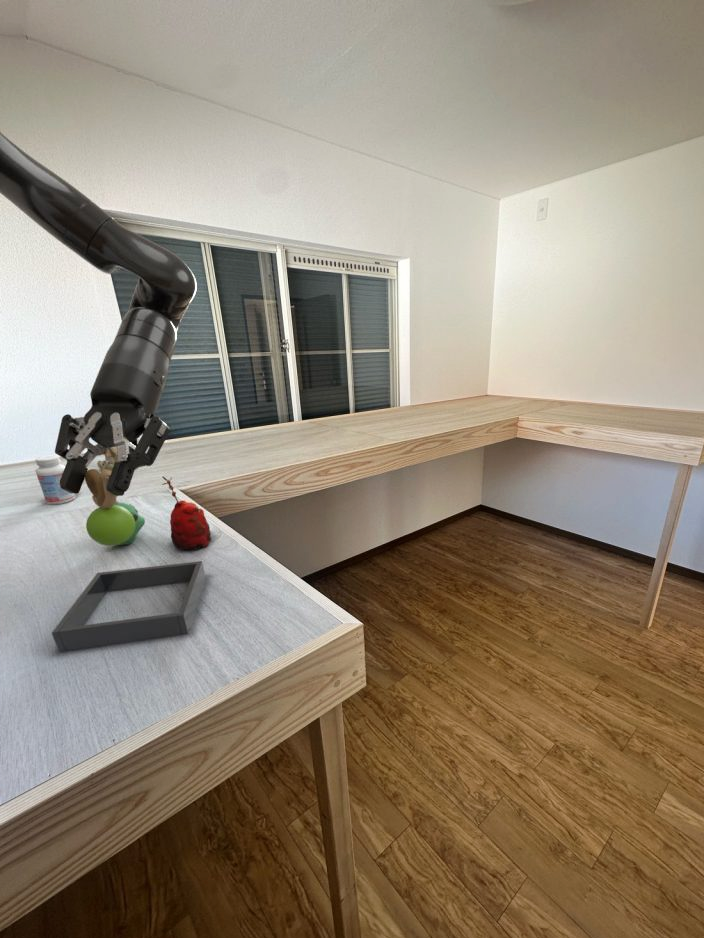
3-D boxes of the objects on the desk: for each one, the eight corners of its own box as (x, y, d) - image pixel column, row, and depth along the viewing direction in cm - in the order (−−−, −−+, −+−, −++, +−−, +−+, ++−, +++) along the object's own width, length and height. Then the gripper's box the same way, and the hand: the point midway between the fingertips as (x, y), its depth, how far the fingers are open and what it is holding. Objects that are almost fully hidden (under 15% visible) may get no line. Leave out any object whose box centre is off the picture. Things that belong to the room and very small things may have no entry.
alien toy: (150, 545, 82) (137, 498, 78) (104, 554, 79) (89, 506, 75) (148, 531, 88) (137, 487, 84) (106, 540, 84) (91, 494, 80)
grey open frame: (61, 657, 54) (51, 632, 52) (104, 593, 67) (97, 572, 65) (189, 638, 57) (183, 614, 55) (206, 581, 70) (202, 560, 68)
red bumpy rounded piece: (218, 544, 82) (204, 472, 76) (182, 557, 78) (164, 481, 71) (202, 532, 87) (188, 464, 81) (167, 544, 83) (150, 472, 76)
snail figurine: (111, 559, 52) (80, 468, 47) (85, 546, 55) (54, 460, 50) (152, 541, 56) (128, 455, 51) (126, 530, 59) (101, 449, 55)
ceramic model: (132, 458, 139) (124, 428, 135) (158, 460, 136) (150, 430, 132) (93, 470, 127) (83, 438, 123) (120, 474, 124) (111, 441, 120)
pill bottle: (40, 503, 103) (24, 460, 98) (65, 495, 108) (50, 453, 103) (58, 506, 101) (42, 462, 96) (82, 497, 106) (68, 455, 102)
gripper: (63, 360, 54) (11, 476, 48) (165, 360, 52) (125, 481, 46) (104, 396, 61) (63, 501, 55) (196, 397, 59) (164, 506, 53)
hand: (91, 491), depth 51 cm, fingers closed on snail figurine, 5 cm apart
